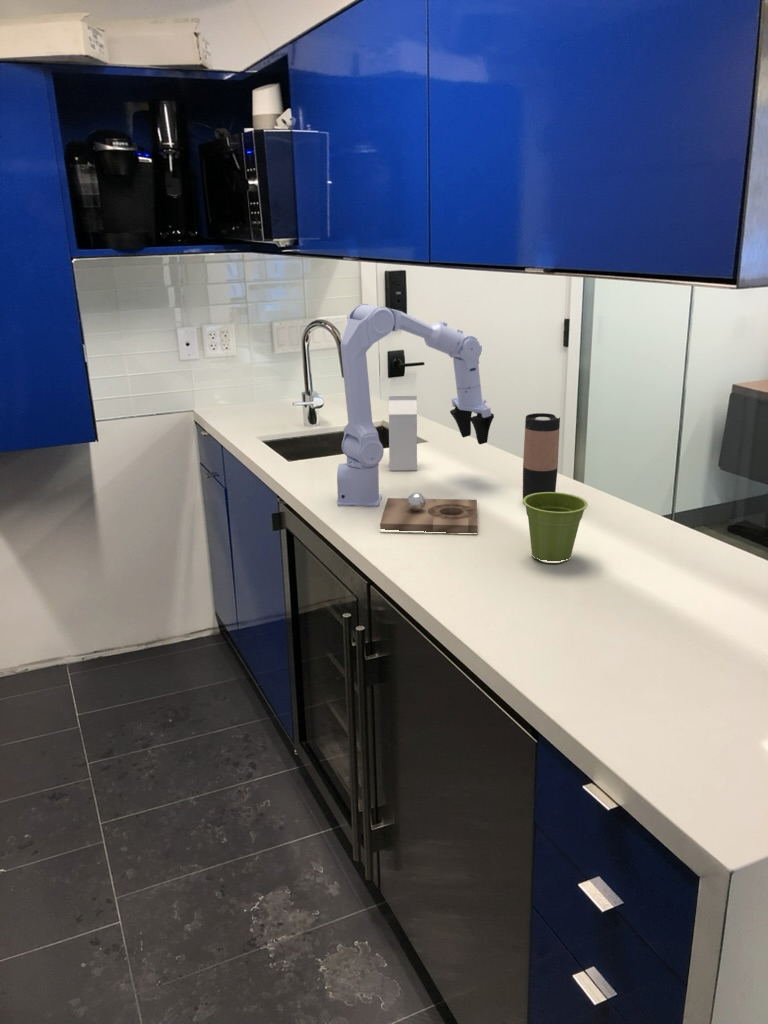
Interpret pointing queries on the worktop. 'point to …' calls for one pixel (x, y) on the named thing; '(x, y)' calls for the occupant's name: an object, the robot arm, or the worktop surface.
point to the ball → (416, 501)
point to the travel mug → (540, 453)
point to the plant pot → (553, 523)
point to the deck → (431, 516)
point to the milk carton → (402, 433)
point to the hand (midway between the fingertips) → (474, 439)
